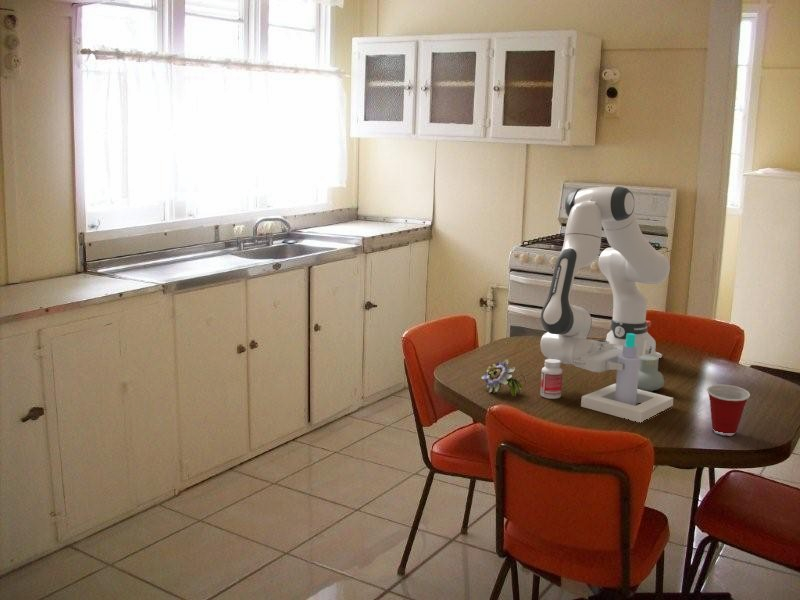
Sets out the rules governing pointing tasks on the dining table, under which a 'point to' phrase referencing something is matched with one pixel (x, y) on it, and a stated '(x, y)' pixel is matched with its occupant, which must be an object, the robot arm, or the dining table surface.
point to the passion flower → (501, 377)
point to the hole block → (607, 404)
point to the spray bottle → (628, 372)
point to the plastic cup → (726, 406)
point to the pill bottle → (551, 379)
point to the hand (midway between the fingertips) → (631, 364)
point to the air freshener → (649, 374)
